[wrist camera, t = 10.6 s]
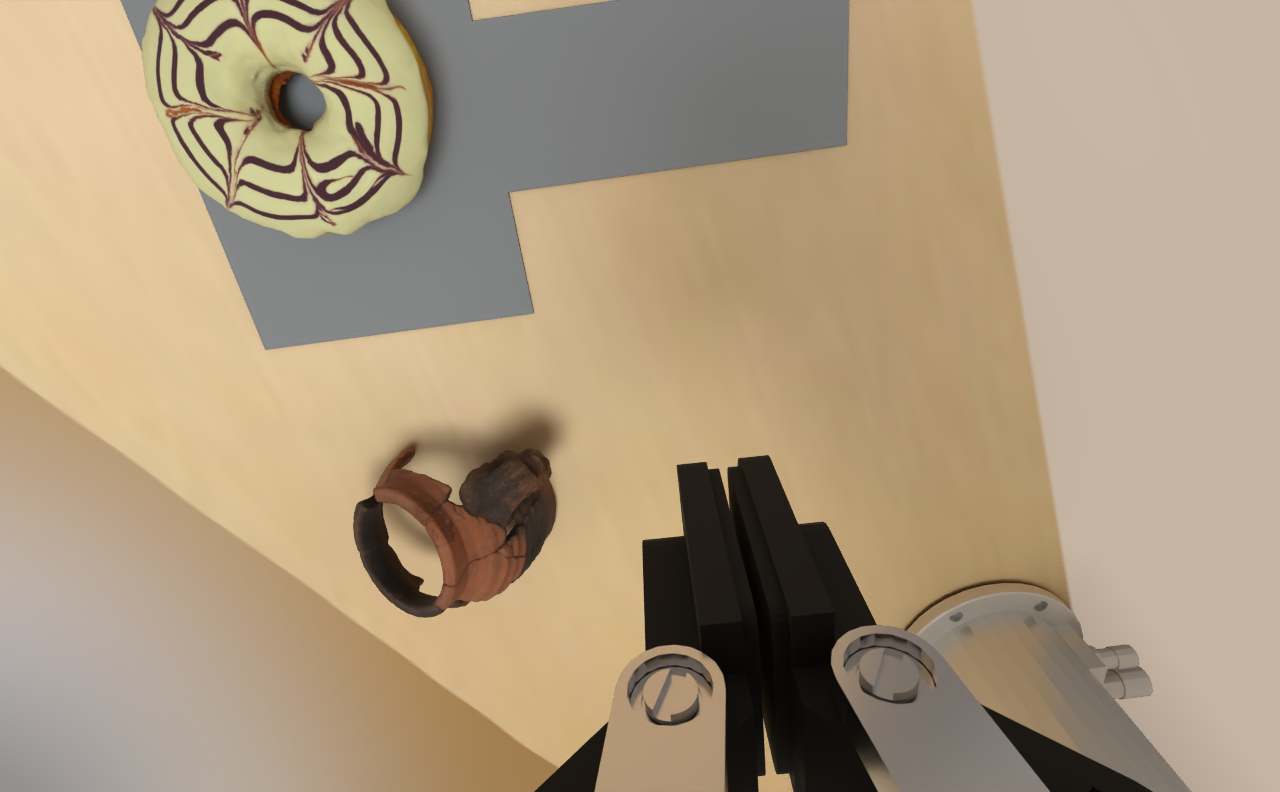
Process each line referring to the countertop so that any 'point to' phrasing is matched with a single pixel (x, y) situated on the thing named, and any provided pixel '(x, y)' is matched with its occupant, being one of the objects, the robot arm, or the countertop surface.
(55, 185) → the countertop surface
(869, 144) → the countertop surface
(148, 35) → the decorated donut
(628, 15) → the t mat
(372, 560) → the pottery mug
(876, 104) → the countertop surface
